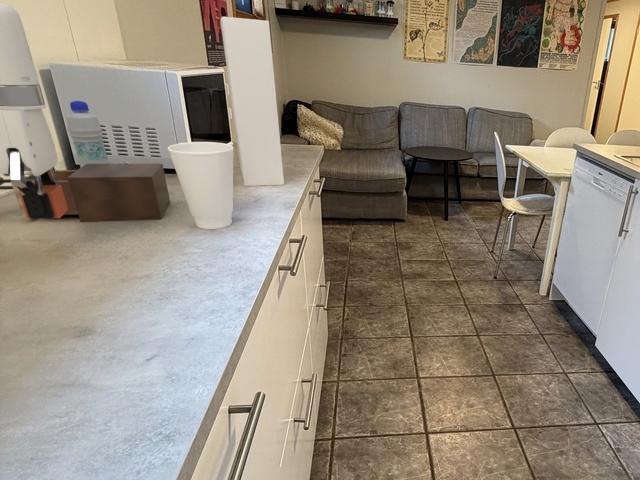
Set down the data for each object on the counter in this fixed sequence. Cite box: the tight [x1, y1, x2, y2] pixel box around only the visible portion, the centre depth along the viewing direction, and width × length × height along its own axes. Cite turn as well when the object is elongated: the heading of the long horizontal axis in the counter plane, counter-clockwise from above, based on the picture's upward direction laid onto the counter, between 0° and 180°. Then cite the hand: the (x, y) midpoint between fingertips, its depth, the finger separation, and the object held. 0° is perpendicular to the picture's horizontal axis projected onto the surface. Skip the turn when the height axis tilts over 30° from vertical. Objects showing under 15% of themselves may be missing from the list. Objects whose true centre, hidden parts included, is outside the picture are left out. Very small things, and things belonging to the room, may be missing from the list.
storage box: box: [219, 16, 285, 187], centre depth 130 cm, size 21×10×40 cm, turn 24°
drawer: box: [0, 169, 78, 219], centre depth 98 cm, size 20×11×7 cm, turn 110°
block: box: [19, 185, 68, 220], centre depth 79 cm, size 4×4×4 cm
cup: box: [167, 141, 235, 230], centre depth 97 cm, size 12×12×16 cm
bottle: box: [65, 100, 110, 168], centre depth 116 cm, size 7×7×20 cm
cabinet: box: [67, 163, 171, 223], centre depth 102 cm, size 15×13×9 cm
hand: (47, 212), depth 79 cm, fingers closed on block, 4 cm apart
